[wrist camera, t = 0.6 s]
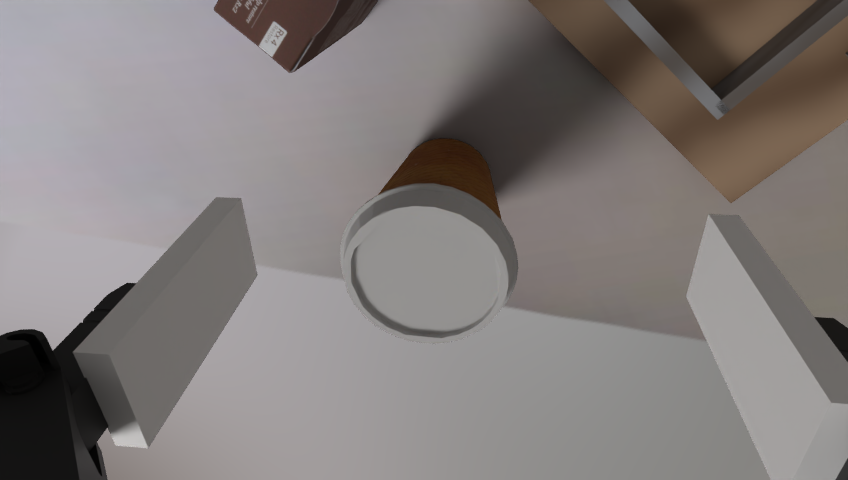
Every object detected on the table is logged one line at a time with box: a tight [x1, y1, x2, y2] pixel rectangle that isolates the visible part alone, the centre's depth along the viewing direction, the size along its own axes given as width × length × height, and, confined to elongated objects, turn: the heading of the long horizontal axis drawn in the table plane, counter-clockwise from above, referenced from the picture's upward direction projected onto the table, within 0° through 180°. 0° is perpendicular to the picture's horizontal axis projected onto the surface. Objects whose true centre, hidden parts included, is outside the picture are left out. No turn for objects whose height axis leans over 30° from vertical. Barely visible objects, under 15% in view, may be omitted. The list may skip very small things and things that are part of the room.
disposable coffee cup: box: [340, 139, 518, 344], centre depth 34 cm, size 10×10×12 cm
